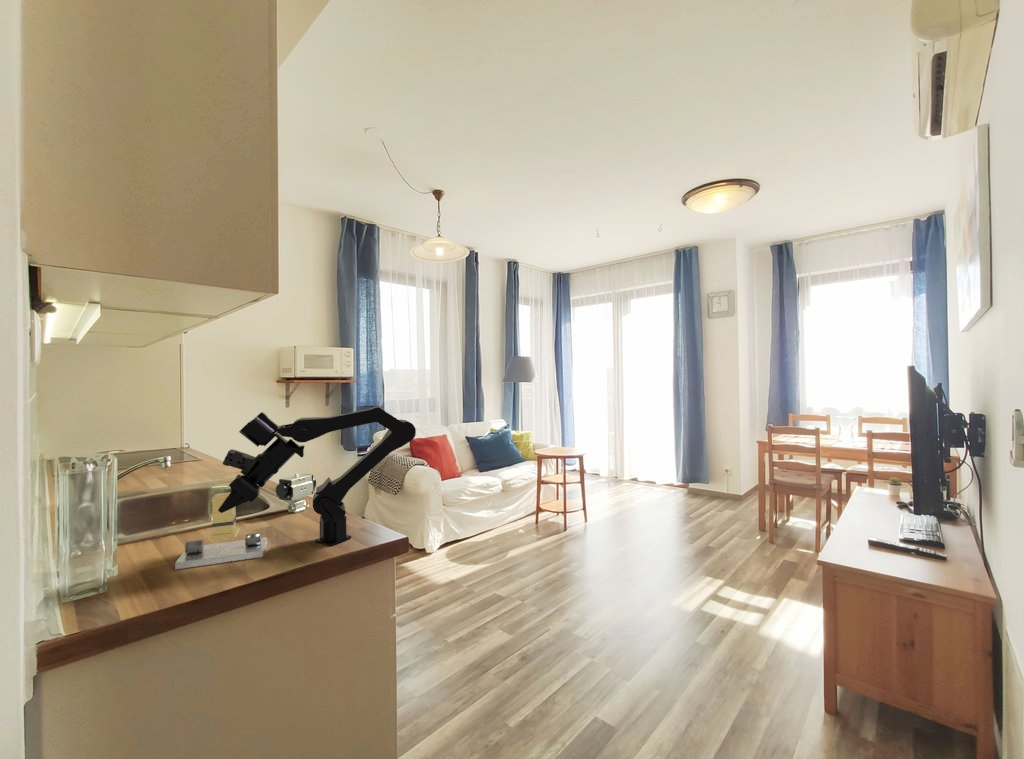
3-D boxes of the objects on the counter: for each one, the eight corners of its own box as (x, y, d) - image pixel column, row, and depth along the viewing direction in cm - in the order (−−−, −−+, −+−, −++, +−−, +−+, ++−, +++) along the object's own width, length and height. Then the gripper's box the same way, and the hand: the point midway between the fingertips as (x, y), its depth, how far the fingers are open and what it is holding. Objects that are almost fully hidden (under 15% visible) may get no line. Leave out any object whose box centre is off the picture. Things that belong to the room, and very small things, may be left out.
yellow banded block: (239, 531, 111) (238, 490, 110) (235, 538, 106) (234, 496, 106) (214, 534, 109) (213, 493, 108) (209, 541, 104) (208, 498, 104)
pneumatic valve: (275, 515, 138) (274, 476, 138) (306, 505, 149) (306, 469, 148) (288, 517, 136) (287, 478, 136) (318, 507, 146) (318, 470, 146)
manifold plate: (267, 542, 115) (267, 526, 115) (262, 557, 106) (262, 539, 106) (187, 553, 108) (187, 535, 108) (175, 569, 99) (175, 550, 99)
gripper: (251, 433, 117) (202, 479, 113) (239, 442, 100) (181, 497, 96) (285, 460, 121) (238, 506, 116) (279, 474, 103) (224, 529, 99)
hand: (221, 509), depth 107 cm, fingers closed on yellow banded block, 4 cm apart
